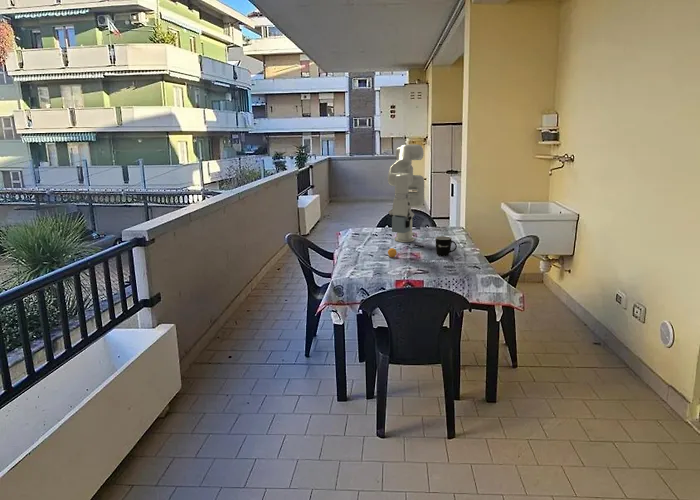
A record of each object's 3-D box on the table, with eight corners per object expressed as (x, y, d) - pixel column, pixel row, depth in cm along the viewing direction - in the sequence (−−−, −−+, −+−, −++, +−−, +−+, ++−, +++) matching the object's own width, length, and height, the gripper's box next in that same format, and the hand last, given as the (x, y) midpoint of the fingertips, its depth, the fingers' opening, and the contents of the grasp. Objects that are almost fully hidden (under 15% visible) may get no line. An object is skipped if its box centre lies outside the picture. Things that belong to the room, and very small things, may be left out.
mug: (434, 256, 285) (435, 239, 282) (435, 252, 293) (436, 235, 291) (456, 257, 282) (456, 240, 280) (456, 253, 291) (457, 236, 288)
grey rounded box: (398, 229, 294) (398, 214, 292) (410, 231, 289) (410, 216, 287) (391, 231, 288) (391, 216, 286) (403, 233, 283) (403, 218, 281)
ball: (385, 252, 283) (388, 257, 287) (392, 254, 280) (395, 259, 284) (388, 245, 285) (391, 251, 289) (396, 247, 282) (399, 252, 286)
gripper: (418, 196, 282) (417, 227, 286) (392, 194, 292) (391, 224, 296) (411, 198, 276) (411, 229, 280) (385, 195, 286) (384, 226, 290)
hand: (401, 226), depth 288 cm, fingers closed on grey rounded box, 7 cm apart
